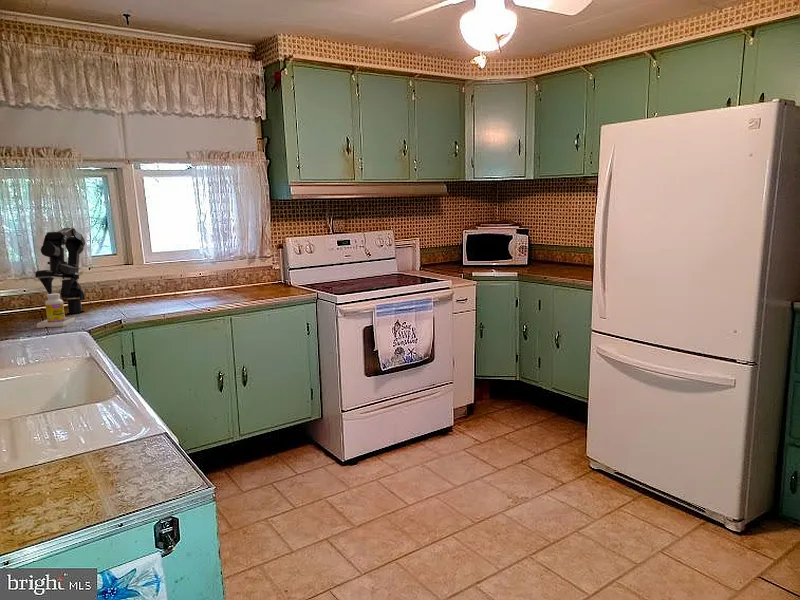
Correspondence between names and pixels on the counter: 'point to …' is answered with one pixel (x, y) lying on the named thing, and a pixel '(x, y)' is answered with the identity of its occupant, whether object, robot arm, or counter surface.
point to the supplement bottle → (54, 308)
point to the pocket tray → (55, 323)
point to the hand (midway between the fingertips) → (58, 294)
